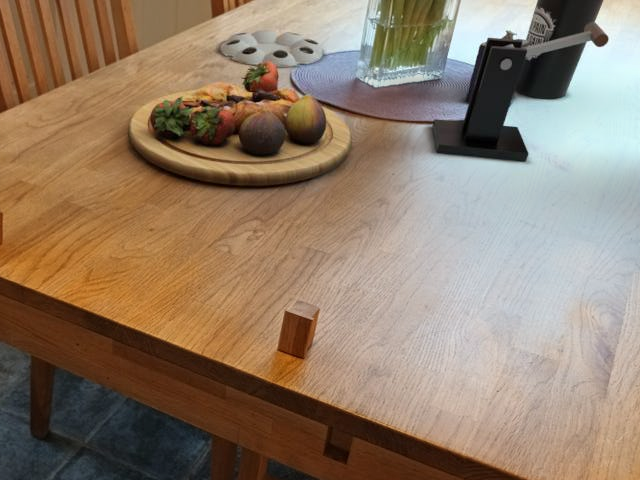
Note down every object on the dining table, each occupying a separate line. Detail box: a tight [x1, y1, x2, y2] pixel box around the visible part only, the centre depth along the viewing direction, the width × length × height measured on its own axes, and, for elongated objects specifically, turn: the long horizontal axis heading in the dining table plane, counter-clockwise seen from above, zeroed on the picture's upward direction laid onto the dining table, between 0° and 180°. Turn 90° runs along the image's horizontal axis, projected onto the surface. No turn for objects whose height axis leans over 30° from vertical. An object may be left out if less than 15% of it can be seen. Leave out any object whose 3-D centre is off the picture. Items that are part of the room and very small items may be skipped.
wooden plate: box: [127, 62, 353, 187], centre depth 102 cm, size 32×32×8 cm
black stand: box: [432, 37, 529, 162], centre depth 100 cm, size 12×10×14 cm
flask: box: [464, 29, 529, 104], centre depth 116 cm, size 9×3×11 cm, turn 111°
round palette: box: [219, 30, 323, 68], centre depth 138 cm, size 20×20×2 cm
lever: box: [502, 21, 609, 57], centre depth 95 cm, size 13×6×2 cm, turn 77°
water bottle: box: [514, 0, 604, 100], centre depth 116 cm, size 10×10×23 cm
